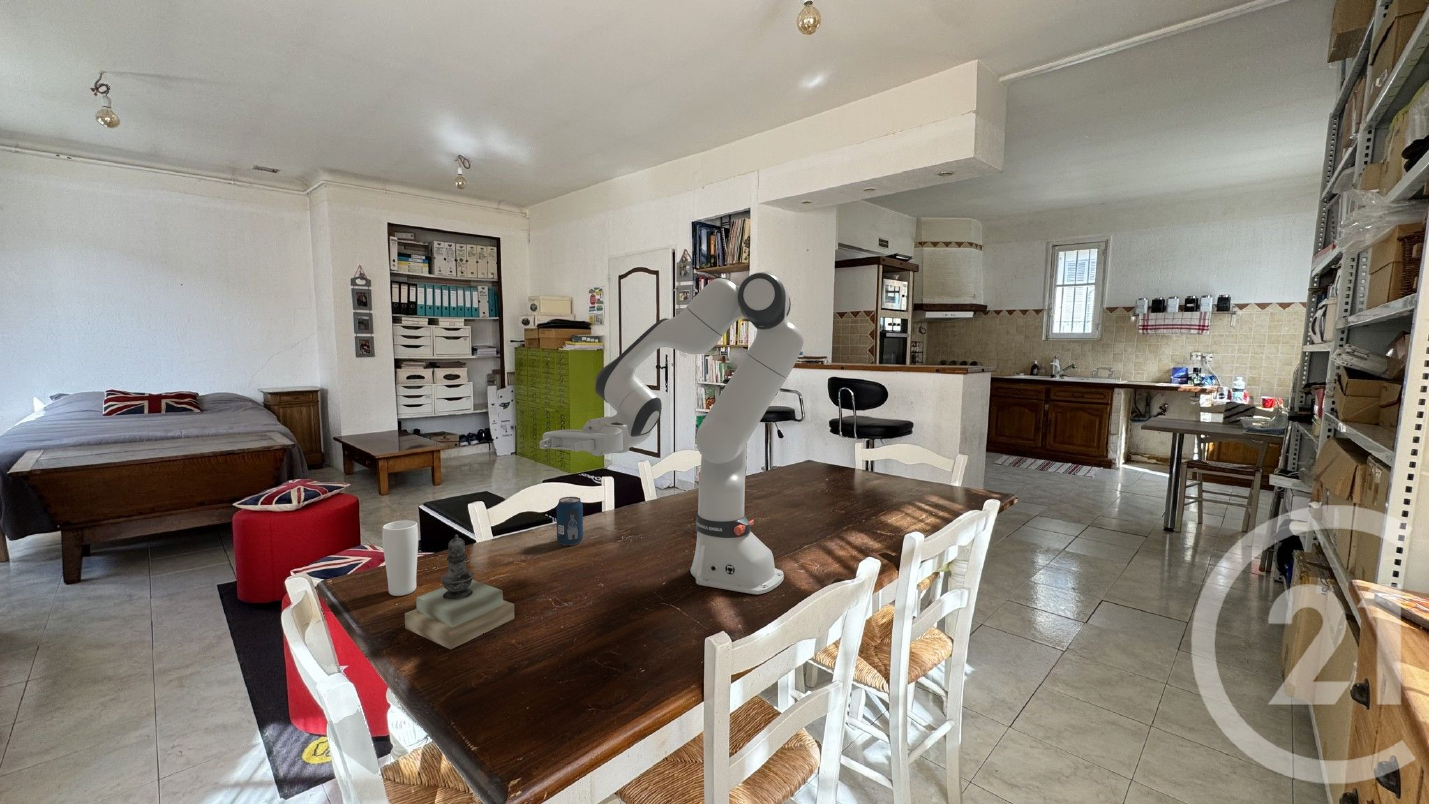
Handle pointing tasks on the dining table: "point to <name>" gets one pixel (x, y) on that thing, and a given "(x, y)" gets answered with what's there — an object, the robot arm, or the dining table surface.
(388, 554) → the drinking glass
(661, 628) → the dining table surface
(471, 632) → the brick tower base
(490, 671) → the dining table surface
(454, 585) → the dark grey ornamental finial
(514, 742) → the dining table surface
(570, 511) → the soda can
